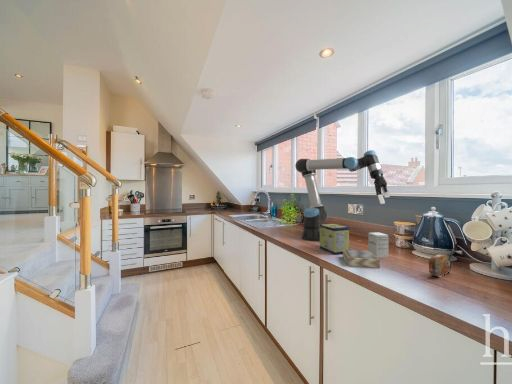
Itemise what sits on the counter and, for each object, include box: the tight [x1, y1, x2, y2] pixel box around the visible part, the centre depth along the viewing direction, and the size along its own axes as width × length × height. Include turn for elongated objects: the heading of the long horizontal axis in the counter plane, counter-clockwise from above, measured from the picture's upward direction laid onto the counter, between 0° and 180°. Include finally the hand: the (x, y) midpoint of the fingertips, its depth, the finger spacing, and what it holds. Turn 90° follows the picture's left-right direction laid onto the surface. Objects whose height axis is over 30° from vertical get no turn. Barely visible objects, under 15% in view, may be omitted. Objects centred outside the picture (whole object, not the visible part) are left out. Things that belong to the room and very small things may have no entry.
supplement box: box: [367, 231, 389, 259], centre depth 116 cm, size 7×7×13 cm
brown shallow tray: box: [342, 249, 381, 269], centre depth 107 cm, size 14×14×4 cm
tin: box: [428, 253, 452, 278], centre depth 90 cm, size 15×3×8 cm, turn 117°
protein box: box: [319, 223, 350, 255], centre depth 127 cm, size 10×16×16 cm
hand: (385, 200), depth 131 cm, fingers open, 13 cm apart
